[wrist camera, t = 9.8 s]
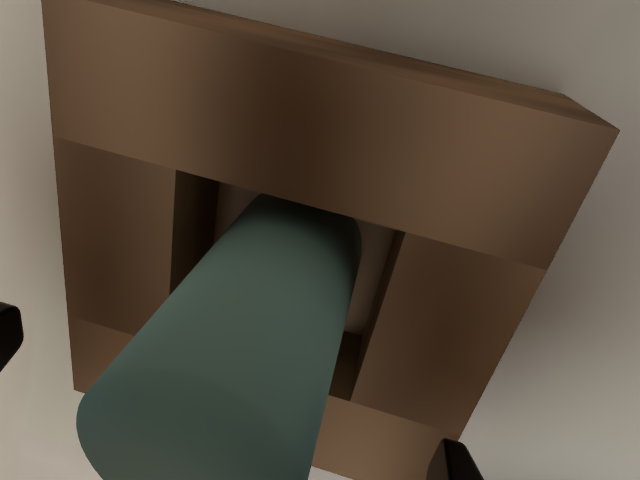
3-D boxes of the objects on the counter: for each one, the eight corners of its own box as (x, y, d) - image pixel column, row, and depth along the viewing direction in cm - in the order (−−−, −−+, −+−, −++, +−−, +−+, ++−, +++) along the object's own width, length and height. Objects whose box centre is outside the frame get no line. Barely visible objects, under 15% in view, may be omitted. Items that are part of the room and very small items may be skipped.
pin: (346, 310, 15) (283, 562, 8) (233, 278, 16) (82, 496, 9) (376, 203, 14) (327, 416, 7) (247, 169, 14) (68, 337, 7)
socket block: (564, 94, 12) (619, 130, 9) (425, 405, 18) (425, 502, 14) (142, -7, 13) (40, -12, 10) (139, 319, 19) (74, 389, 15)
